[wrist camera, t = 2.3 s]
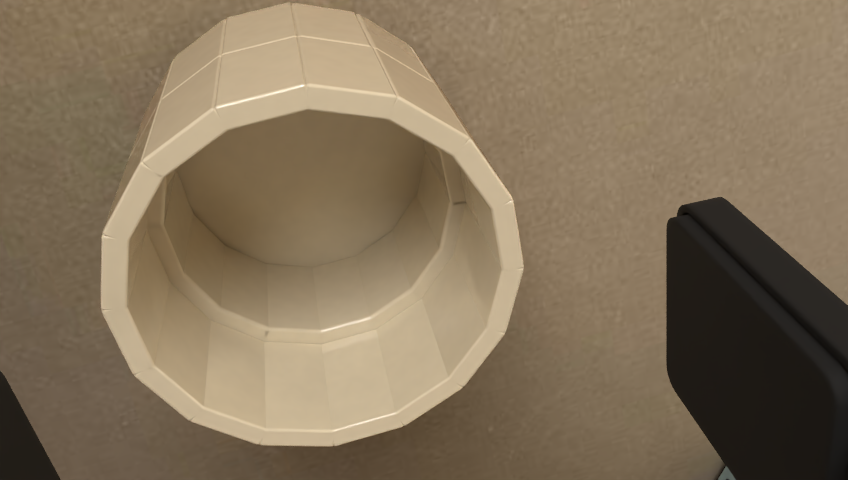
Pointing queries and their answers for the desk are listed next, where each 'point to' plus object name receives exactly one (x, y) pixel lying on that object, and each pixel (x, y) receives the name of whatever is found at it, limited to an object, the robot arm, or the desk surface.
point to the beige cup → (306, 234)
